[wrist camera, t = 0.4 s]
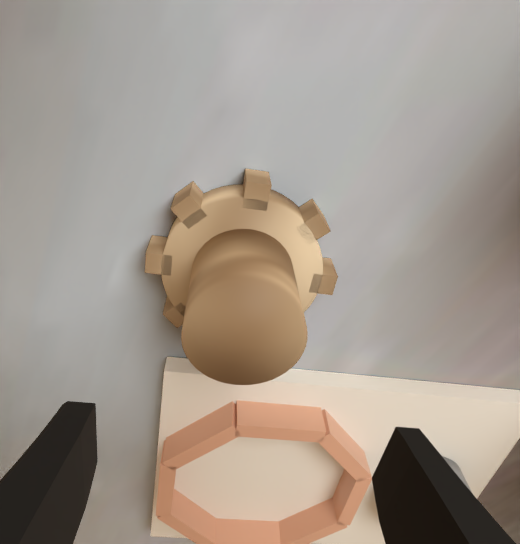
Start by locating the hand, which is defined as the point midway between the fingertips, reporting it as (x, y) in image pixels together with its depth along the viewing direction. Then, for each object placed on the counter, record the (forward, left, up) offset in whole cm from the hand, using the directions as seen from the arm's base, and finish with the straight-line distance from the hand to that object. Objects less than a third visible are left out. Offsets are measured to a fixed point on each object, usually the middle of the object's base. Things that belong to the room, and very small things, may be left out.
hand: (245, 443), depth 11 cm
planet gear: (0, 0, -9) cm, 9 cm away
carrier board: (-7, +13, -9) cm, 17 cm away
